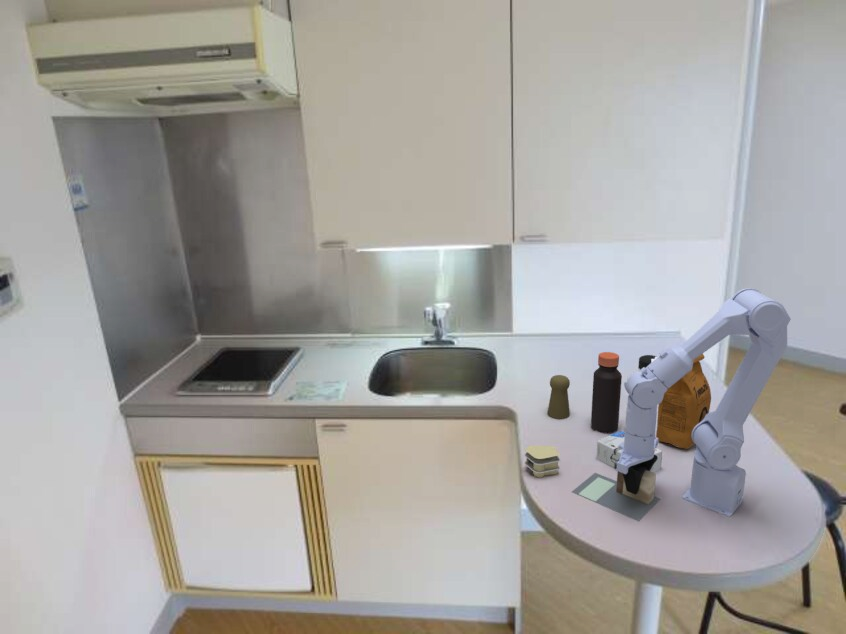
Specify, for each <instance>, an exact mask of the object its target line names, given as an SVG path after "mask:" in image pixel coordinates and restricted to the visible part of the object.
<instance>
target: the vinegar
mask: <svg viewBox="0 0 846 634" xmlns="http://www.w3.org/2000/svg"><path fill="white" fill-rule="evenodd" d="M619 361H620V355H619V354H617V353H615V352H613V351H612V352H611V351H605V352H604V351H603V352H600V353H599V354H598V360H597V365H598V368H597V369H595V370H594V372H593V380H592V395H591V397H592V398H591V400H592V401H591V416H590V417H591V419H590V427H591V429H593V430H594V431H595V432H597V433H600V434H601V433H602V434H614V433H616V432H618V429H619V424H620V422H619V421H620V408H621V407H620V406H621V405H620V404H621V394H622V393H621V391H622V378H623V377H622V373H621V372H620V371H619V370H618V367H619V365H620V364H619V363H620V362H619Z"/></svg>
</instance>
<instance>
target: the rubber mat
mask: <svg viewBox="0 0 846 634" xmlns="http://www.w3.org/2000/svg"><path fill="white" fill-rule="evenodd" d="M616 487H617V480H614V479H612V478H609V477H607V476H605V475H602V474H599V473H597V472H594V473H592V474H591V475H590V476H589V477H588V478H587V479H585V480H584V481H583V482H581V484H579V485H578V486H577V487H575V488H574V489H573V490H572V491H571V493H573V494H575V495H577V496H580V497H582V498H584V499H586V500H589V501H592V502H593V503H596V504H598V505H601V506H603V507H605V508H607V509H609V510H612V511H614V512H616V513H619V514H621V515H623V516H625V517H628V518H630V519H633V520H634V521H637V522H640V521H641V520H642V519H643V518H644V517H645V516H646V515H647V514H648V513H649V512H650V511H651V510H652V509H653V508H654V507H655V506H656V505H657V503H659V501H661V498H660V497H657V496H655V495H654V499H653V500H652V501H651V502H650V503H649V504H646V503H643V502H641V501H638V500H636V499H634V498H631V497H629V496H626V495H624V494H621V493H618V492H616Z"/></svg>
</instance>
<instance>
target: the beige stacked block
mask: <svg viewBox="0 0 846 634" xmlns="http://www.w3.org/2000/svg"><path fill="white" fill-rule="evenodd" d="M524 451H526V452H525V454H524V456H525V458H526V460H525V461H524V465H525V466H526V467H528V468H529V469H530V470H531V471H532V474H534V475H535V476H534V477H536V476H537V477H536V478H543V476H544V475H545V476H549V475H558V474H559V472H558V471H559V470H560V469H561V468H560V466H559V462H561V458H560V457H559V456H561V453H560V452H559V450H557V448H556V447H555V446H553V445H551V446H550V445H528V446H527V447H526V448H525V449H524ZM545 476H544V477H545Z"/></svg>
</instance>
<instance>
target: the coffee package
mask: <svg viewBox="0 0 846 634" xmlns="http://www.w3.org/2000/svg"><path fill="white" fill-rule="evenodd" d="M705 358H706V357H705V355H704V353H703V354H701V355H700V356H699V357H697V358H696V359H694V361H693V367H692V370H691V371H689V372H688V373H687V374H686V375H685V376H683V377H682V378H681V379H680V380H678V381H677V382H676V383H675V384H673V385H672V386H671V387H670V388H668V389H667V391H666V392H665V393H664V397H663V400H662V402H661V403H660V404H658V405H657V419H656V425H657V426H656V433H655V437H656V438H658V442H662V443H666V444H670V445H673V446H674V447H677V448H680V449H685V450H688V449H689V448H691V447H692V446H694V445H696V444H695V443H694V442H693V440H692V431H693V429H694V427H695V426H696V425H697V424H699V423H700V422H701V421H702V420H703V419H704V418H705V416H706V414H708V413H710V408H711V403H712V392H711V387H710V385H709V381H708V380H707V377H706V375H705V374H704V372H703V367H702V365H701V362H700V361H702V360H704V359H705Z"/></svg>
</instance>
